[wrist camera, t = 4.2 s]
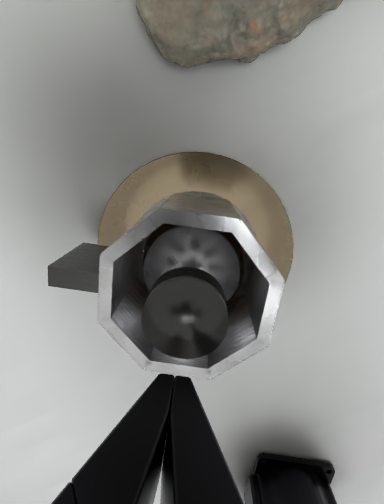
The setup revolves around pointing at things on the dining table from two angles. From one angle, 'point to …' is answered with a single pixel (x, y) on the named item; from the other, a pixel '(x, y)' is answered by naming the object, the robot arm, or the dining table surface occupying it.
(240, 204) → the moka pot
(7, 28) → the dining table surface
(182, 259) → the dark round knob
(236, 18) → the long grey stone
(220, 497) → the robot arm
